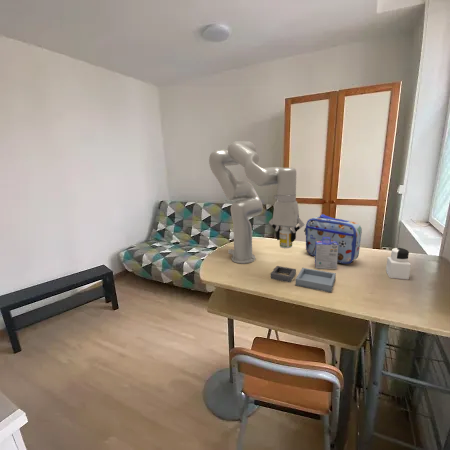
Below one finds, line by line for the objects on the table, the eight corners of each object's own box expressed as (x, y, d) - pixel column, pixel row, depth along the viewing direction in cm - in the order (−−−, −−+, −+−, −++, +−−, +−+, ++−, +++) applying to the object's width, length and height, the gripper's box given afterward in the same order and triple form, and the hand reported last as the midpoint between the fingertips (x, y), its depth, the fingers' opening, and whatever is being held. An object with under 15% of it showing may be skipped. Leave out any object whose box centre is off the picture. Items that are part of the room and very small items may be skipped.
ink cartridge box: (335, 264, 127) (337, 236, 123) (337, 269, 122) (339, 240, 118) (313, 264, 129) (315, 236, 125) (315, 268, 124) (316, 239, 120)
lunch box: (300, 254, 142) (301, 214, 136) (310, 249, 148) (312, 211, 143) (352, 268, 122) (356, 223, 116) (361, 261, 129) (365, 218, 123)
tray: (295, 285, 109) (295, 278, 108) (302, 273, 119) (302, 267, 118) (331, 292, 102) (331, 285, 101) (335, 279, 112) (335, 273, 111)
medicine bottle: (404, 272, 116) (407, 247, 113) (409, 279, 109) (413, 253, 106) (385, 270, 118) (388, 245, 115) (389, 278, 112) (392, 251, 108)
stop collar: (270, 278, 116) (270, 273, 115) (276, 270, 123) (276, 265, 123) (290, 282, 111) (290, 277, 111) (295, 274, 119) (296, 269, 118)
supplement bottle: (281, 249, 110) (281, 227, 108) (278, 245, 115) (277, 224, 113) (294, 247, 111) (294, 226, 108) (290, 244, 116) (289, 223, 114)
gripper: (263, 199, 109) (263, 240, 113) (305, 200, 100) (303, 245, 105) (269, 196, 115) (269, 235, 120) (309, 197, 107) (308, 239, 111)
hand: (285, 239), depth 112 cm, fingers closed on supplement bottle, 5 cm apart
